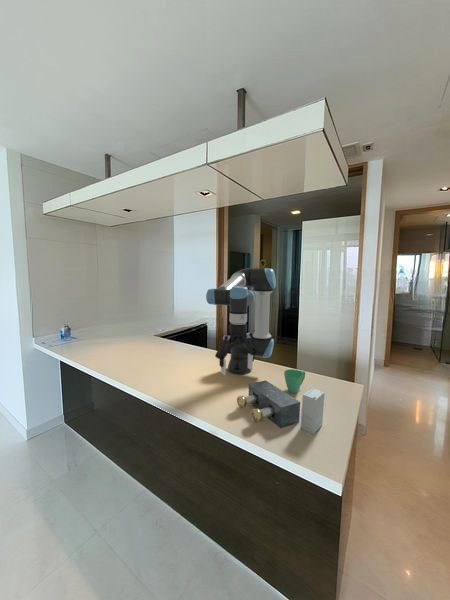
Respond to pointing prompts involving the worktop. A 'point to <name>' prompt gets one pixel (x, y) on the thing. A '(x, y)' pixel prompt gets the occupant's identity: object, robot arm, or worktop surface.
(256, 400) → the knob left
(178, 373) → the worktop surface
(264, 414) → the knob right
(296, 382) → the mug
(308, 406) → the skincare box
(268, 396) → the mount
